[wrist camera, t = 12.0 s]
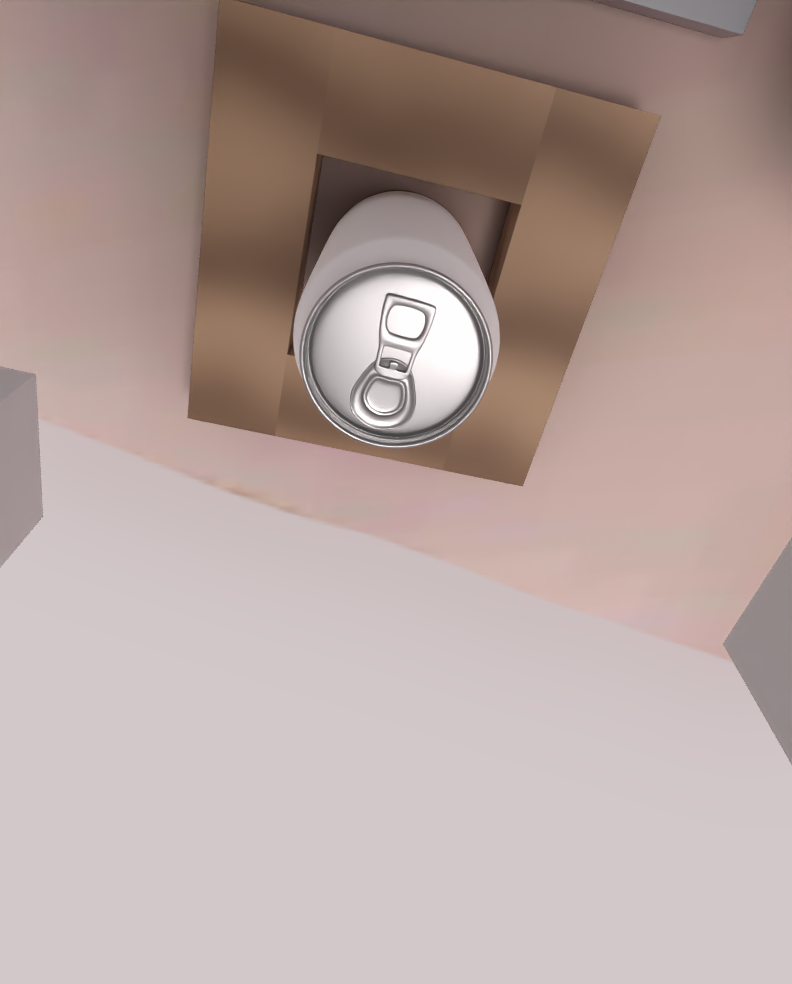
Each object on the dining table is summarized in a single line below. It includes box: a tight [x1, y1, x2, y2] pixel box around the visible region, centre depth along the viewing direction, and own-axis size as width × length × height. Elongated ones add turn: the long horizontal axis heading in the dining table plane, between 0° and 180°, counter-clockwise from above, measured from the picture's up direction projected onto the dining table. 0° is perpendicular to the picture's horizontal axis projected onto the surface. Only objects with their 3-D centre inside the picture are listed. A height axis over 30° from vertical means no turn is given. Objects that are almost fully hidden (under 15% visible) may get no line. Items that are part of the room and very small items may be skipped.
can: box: [293, 191, 500, 449], centre depth 25 cm, size 6×6×12 cm
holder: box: [188, 0, 661, 486], centre depth 29 cm, size 16×16×2 cm
